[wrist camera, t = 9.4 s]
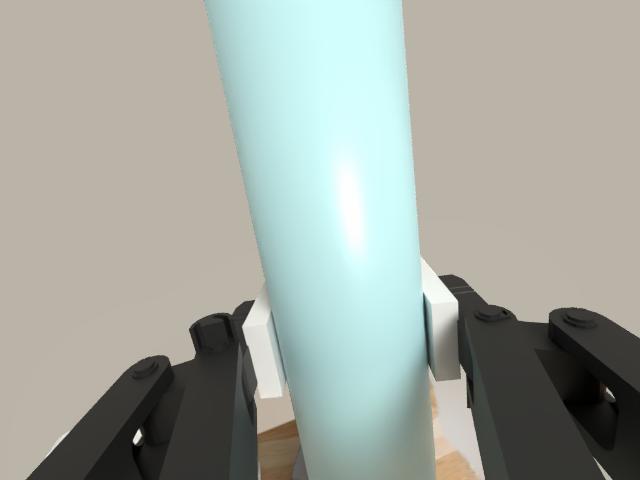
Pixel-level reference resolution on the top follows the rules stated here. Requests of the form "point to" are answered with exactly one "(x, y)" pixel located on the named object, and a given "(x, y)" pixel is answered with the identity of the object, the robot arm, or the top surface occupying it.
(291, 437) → the top surface
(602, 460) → the robot arm
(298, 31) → the teal bottle
